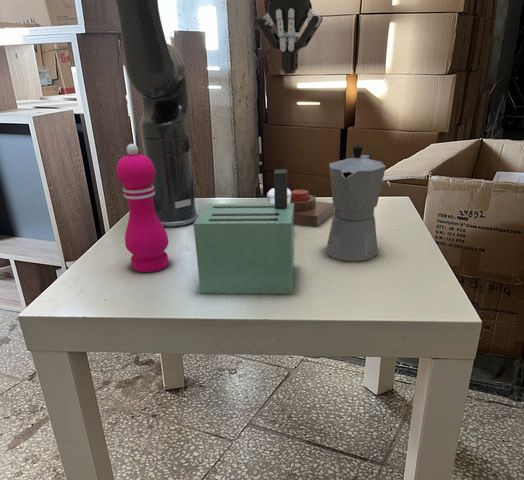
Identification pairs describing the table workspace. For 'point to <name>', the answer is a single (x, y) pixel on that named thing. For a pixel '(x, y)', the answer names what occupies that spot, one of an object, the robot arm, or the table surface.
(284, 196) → the dark grey upright bar
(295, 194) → the button
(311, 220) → the block
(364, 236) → the coffeepot
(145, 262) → the pepper mill
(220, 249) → the toaster
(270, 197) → the milkshake
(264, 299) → the table surface
